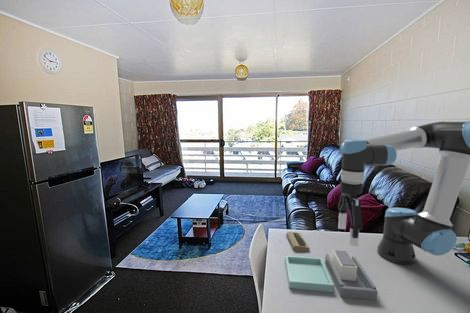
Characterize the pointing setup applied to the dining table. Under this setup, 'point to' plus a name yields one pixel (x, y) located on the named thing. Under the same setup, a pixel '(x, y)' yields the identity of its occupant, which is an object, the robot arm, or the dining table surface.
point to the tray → (308, 274)
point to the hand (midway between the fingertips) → (347, 236)
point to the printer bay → (353, 292)
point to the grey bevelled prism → (344, 265)
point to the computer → (297, 241)
